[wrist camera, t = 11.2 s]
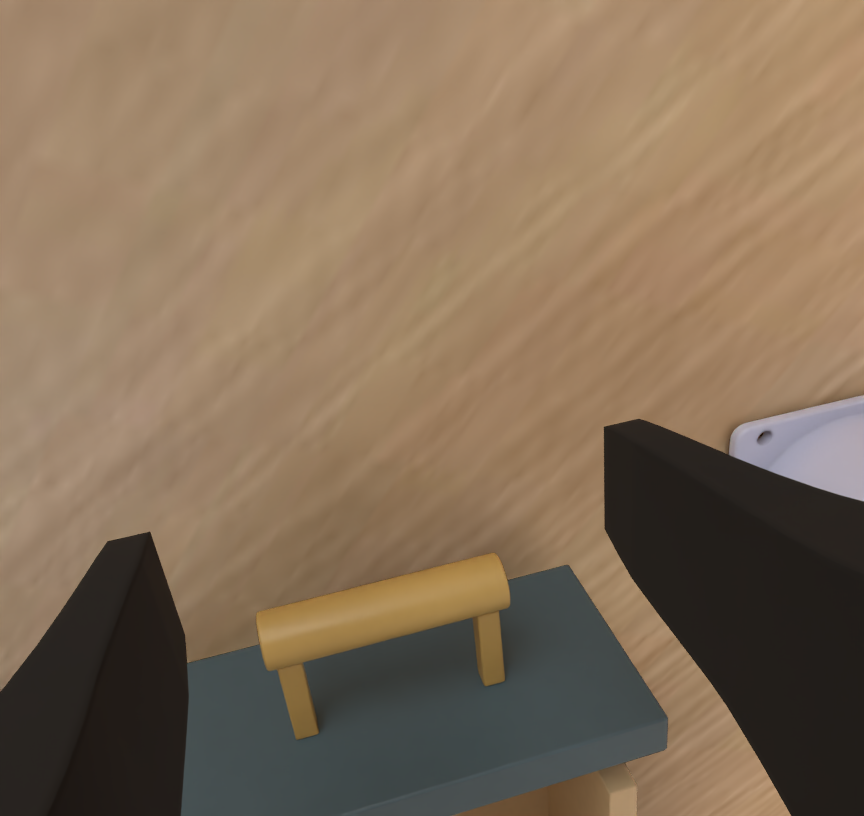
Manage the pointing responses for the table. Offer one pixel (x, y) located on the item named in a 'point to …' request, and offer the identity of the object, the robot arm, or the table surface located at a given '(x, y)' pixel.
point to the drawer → (423, 704)
